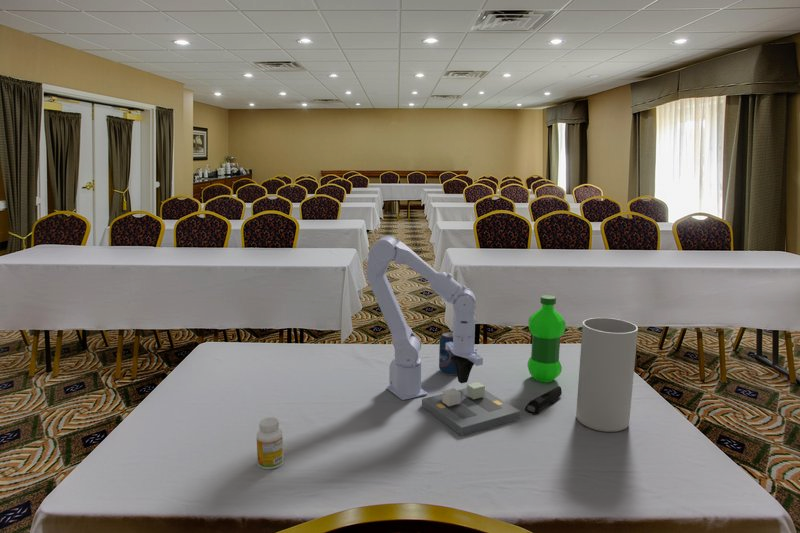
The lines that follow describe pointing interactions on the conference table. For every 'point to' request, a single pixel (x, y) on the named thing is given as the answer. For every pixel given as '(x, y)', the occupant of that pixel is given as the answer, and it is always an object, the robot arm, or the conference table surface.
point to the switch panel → (471, 412)
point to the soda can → (446, 354)
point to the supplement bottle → (269, 444)
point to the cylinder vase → (606, 373)
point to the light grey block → (451, 397)
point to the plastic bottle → (546, 341)
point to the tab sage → (475, 390)
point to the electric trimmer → (543, 400)
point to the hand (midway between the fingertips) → (462, 381)
